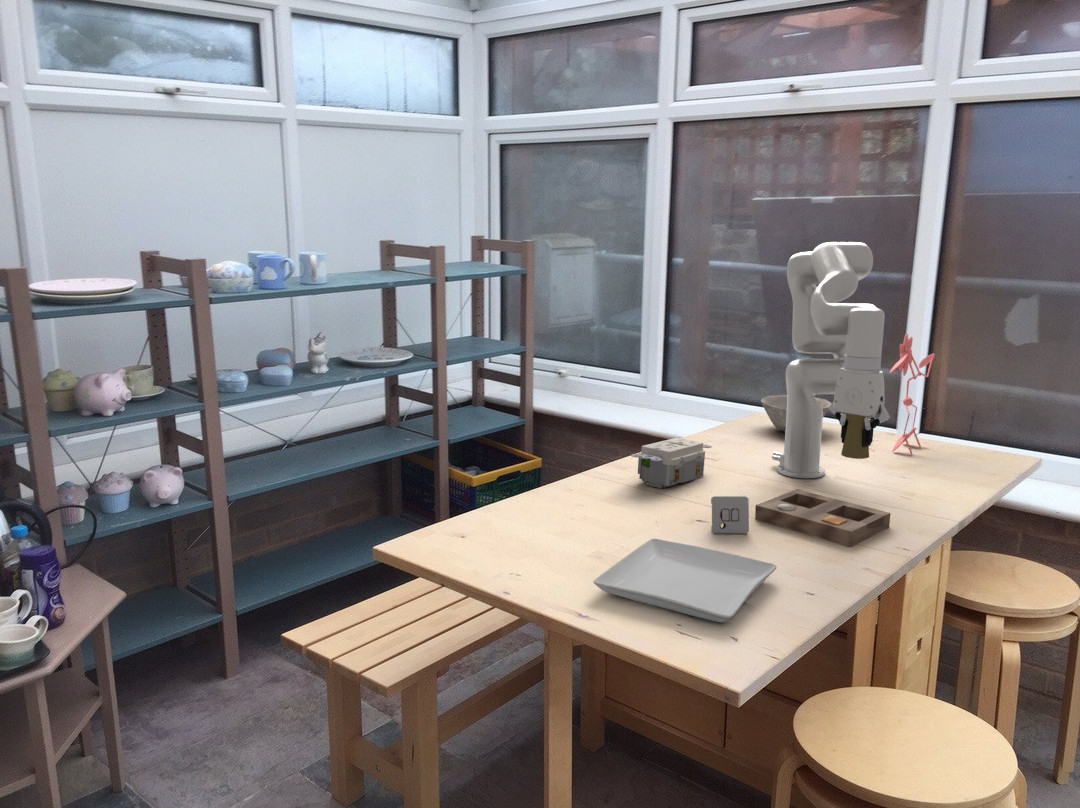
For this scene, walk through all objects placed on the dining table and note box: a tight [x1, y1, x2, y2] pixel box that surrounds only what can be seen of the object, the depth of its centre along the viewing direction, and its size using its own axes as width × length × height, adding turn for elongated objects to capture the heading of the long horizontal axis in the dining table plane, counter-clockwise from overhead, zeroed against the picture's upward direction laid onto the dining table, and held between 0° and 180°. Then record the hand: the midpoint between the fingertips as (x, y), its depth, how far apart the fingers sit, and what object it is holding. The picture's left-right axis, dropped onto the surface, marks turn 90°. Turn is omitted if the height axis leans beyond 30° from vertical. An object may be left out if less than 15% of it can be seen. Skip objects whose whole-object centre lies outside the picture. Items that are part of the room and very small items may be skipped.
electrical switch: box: [710, 495, 750, 535], centre depth 204 cm, size 8×5×8 cm, turn 90°
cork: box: [840, 414, 870, 460], centre depth 203 cm, size 6×6×11 cm
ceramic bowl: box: [761, 394, 833, 433], centre depth 294 cm, size 22×23×10 cm
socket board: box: [754, 488, 891, 548], centre depth 209 cm, size 24×18×4 cm
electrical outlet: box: [630, 437, 712, 489], centre depth 242 cm, size 12×28×10 cm, turn 141°
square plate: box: [592, 538, 778, 623], centre depth 174 cm, size 27×27×4 cm
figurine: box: [869, 333, 936, 455], centre depth 273 cm, size 15×26×35 cm, turn 142°
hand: (856, 443), depth 204 cm, fingers closed on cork, 4 cm apart
